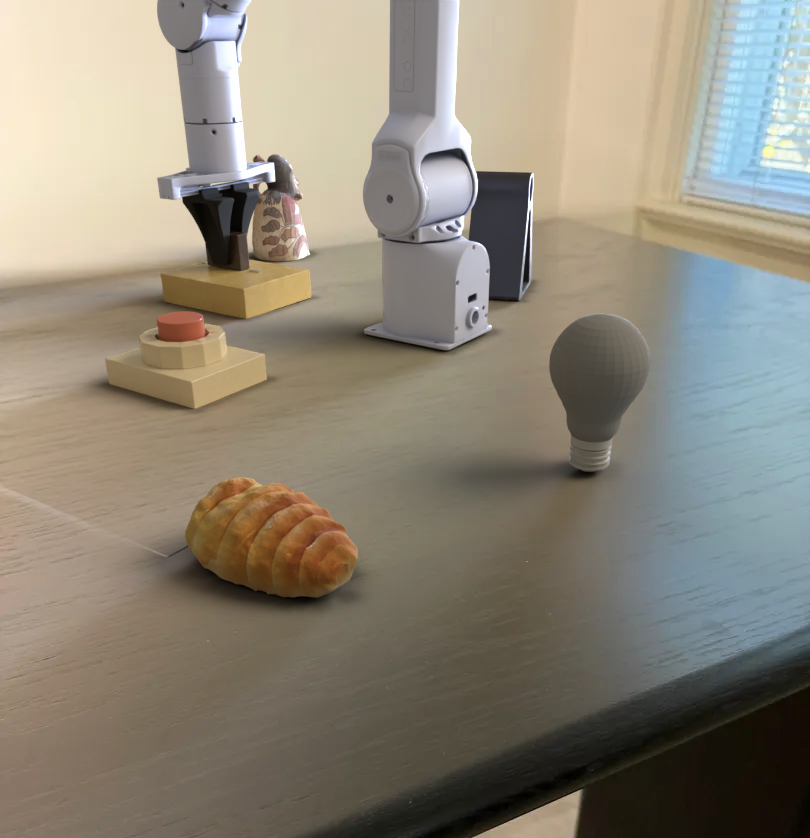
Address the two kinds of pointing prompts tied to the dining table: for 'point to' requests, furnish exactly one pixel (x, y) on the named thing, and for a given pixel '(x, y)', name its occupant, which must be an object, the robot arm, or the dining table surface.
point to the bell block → (186, 368)
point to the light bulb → (597, 382)
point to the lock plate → (236, 288)
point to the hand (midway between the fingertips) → (228, 262)
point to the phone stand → (505, 230)
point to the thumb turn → (235, 252)
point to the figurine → (279, 216)
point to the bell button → (180, 326)
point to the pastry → (270, 539)
